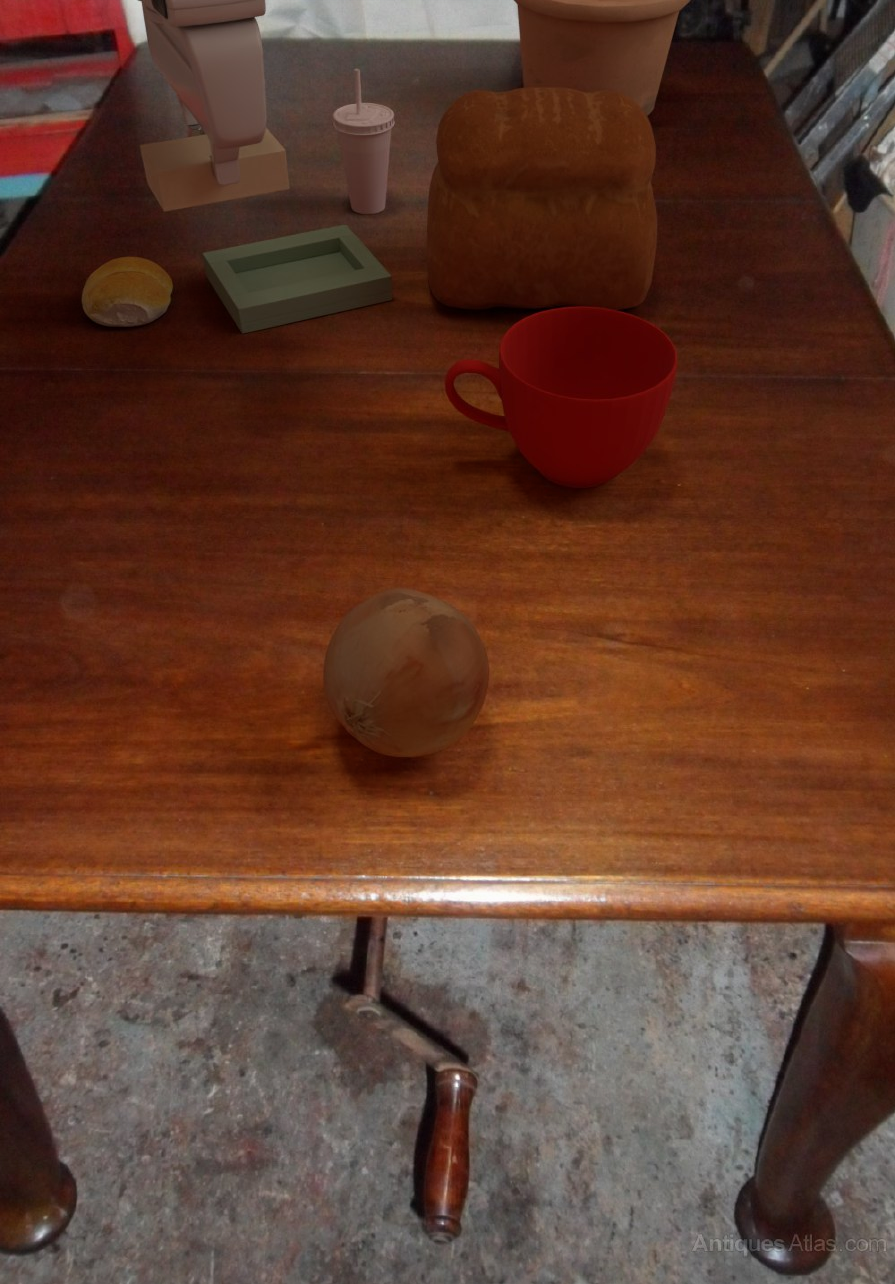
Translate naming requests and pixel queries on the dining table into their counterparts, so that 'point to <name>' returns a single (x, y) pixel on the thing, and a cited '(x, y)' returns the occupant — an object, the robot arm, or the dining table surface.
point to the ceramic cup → (577, 391)
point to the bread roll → (127, 292)
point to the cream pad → (210, 171)
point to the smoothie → (365, 150)
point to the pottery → (597, 45)
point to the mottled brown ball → (406, 673)
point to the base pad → (296, 278)
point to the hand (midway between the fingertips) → (214, 164)
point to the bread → (542, 201)
